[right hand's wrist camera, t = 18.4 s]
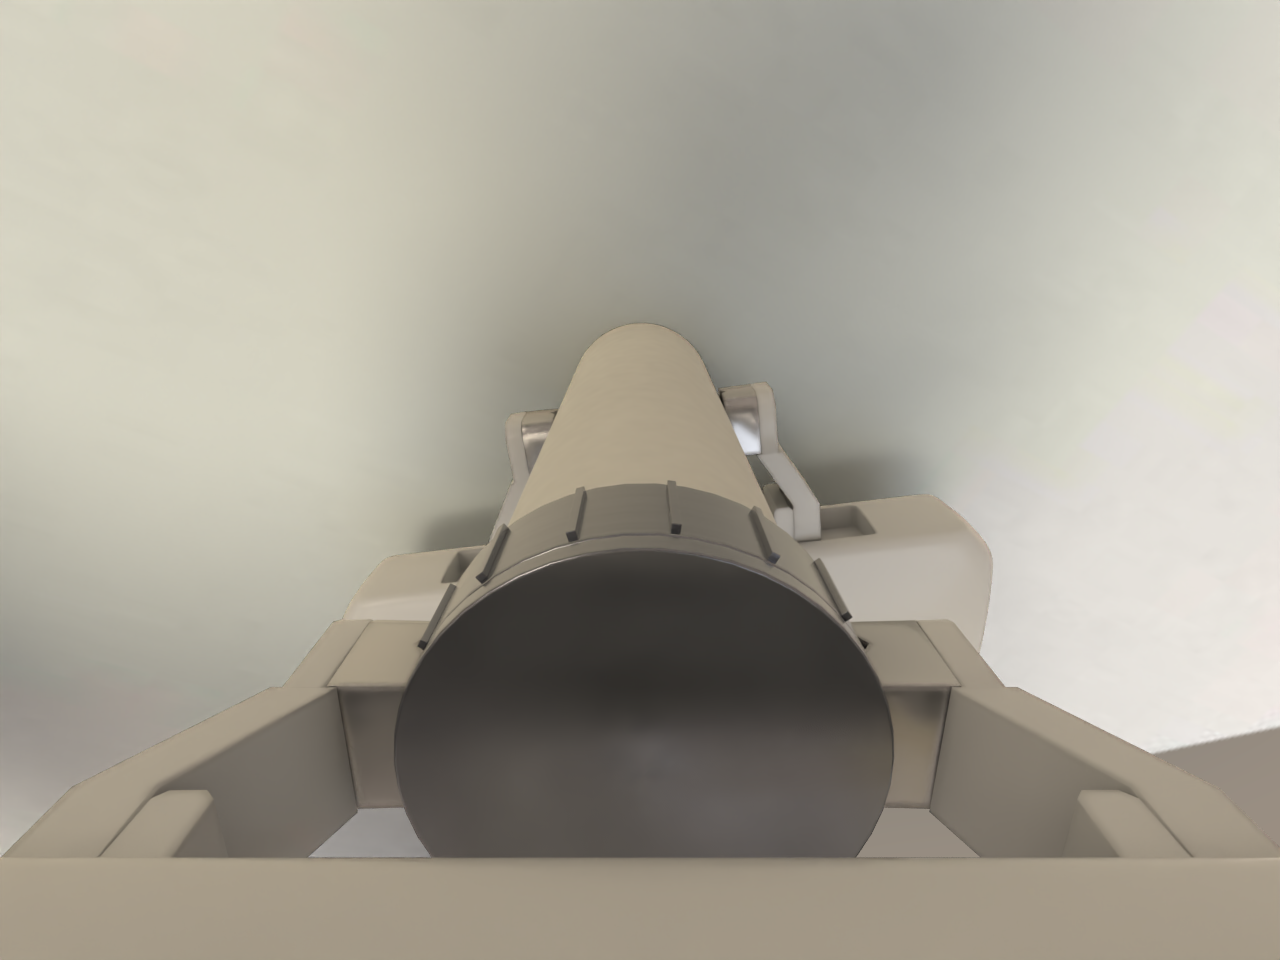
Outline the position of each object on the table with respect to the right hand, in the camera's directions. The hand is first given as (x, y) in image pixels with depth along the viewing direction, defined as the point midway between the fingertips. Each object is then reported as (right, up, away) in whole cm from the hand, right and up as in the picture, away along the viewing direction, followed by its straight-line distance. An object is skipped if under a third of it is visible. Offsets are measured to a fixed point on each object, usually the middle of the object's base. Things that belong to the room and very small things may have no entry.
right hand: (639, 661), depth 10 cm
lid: (0, -1, -2) cm, 2 cm away
